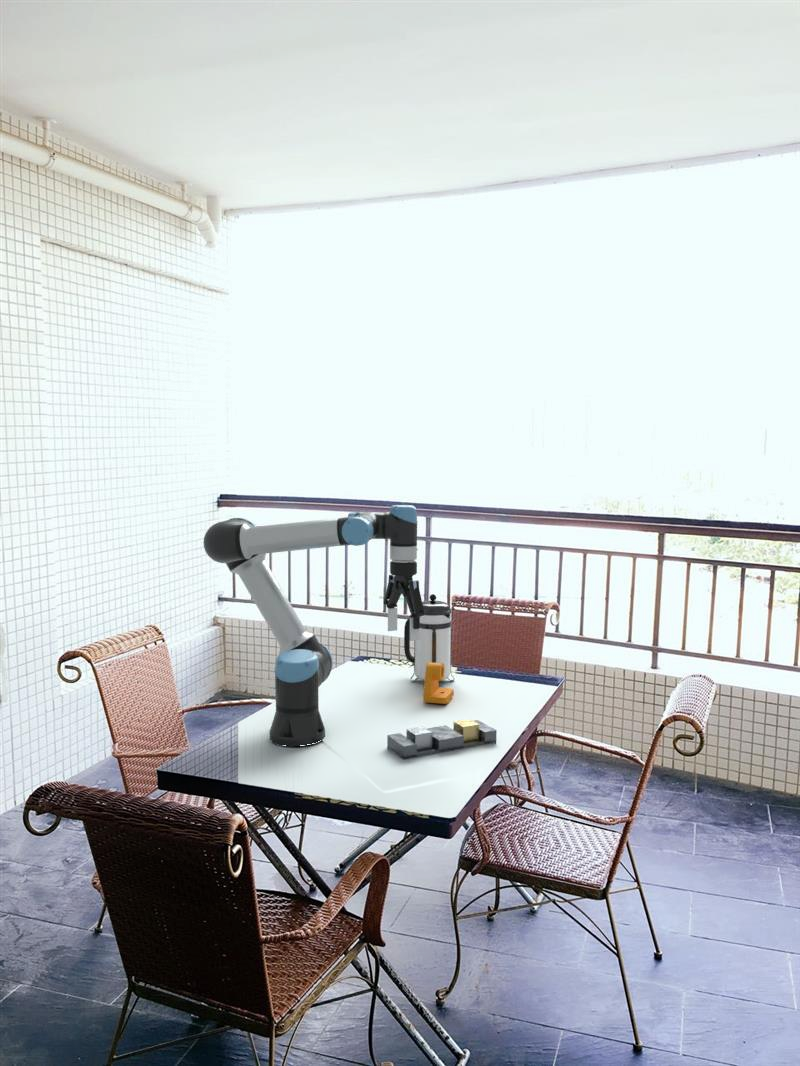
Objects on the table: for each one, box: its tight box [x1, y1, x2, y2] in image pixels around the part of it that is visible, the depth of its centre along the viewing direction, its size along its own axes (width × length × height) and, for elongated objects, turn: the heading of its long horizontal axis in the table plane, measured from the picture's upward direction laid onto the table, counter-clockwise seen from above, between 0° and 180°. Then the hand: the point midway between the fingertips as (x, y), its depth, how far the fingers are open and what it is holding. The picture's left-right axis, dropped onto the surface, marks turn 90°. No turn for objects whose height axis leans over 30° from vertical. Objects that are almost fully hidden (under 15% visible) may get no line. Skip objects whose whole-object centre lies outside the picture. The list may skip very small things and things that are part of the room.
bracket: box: [422, 662, 455, 705], centre depth 271 cm, size 11×7×12 cm, turn 162°
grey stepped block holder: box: [386, 719, 498, 760], centre depth 230 cm, size 28×10×4 cm, turn 117°
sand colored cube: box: [452, 718, 479, 743], centre depth 233 cm, size 5×5×5 cm
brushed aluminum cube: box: [405, 726, 432, 752], centre depth 226 cm, size 5×5×5 cm
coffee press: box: [403, 593, 455, 682], centre depth 292 cm, size 17×16×30 cm
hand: (403, 635), depth 243 cm, fingers open, 13 cm apart
